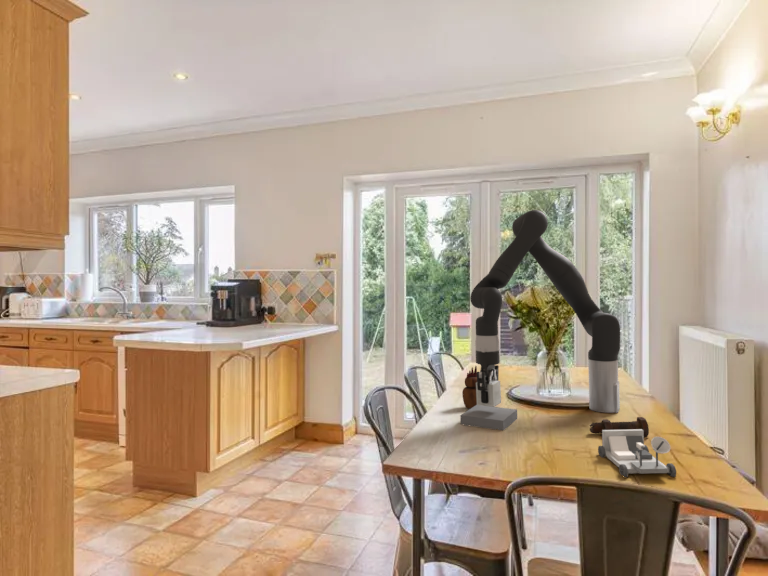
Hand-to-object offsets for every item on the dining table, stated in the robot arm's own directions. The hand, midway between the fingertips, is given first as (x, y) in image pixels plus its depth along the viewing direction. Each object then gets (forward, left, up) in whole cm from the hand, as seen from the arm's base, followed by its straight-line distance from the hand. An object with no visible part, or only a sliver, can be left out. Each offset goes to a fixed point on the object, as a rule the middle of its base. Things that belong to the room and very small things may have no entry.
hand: (488, 400), depth 157 cm
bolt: (-37, -4, -7) cm, 38 cm away
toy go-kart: (-44, +20, -8) cm, 49 cm away
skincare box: (0, 0, -1) cm, 1 cm away
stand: (0, 0, -7) cm, 7 cm away
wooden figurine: (+11, -13, -7) cm, 18 cm away
